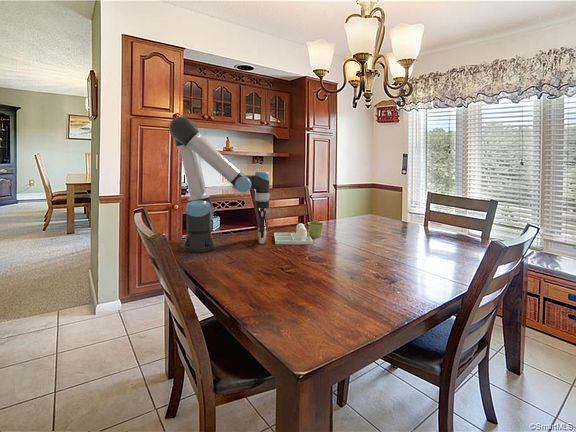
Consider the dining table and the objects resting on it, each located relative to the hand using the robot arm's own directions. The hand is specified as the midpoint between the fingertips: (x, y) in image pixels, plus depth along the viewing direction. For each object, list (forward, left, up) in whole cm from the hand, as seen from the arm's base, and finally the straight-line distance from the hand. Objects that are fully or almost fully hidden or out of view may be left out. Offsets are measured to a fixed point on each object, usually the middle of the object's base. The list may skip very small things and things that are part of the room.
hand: (262, 241), depth 189 cm
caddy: (+17, +1, 0) cm, 17 cm away
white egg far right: (+22, -4, +1) cm, 22 cm away
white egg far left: (+22, +6, +1) cm, 22 cm away
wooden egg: (0, 0, 0) cm, 0 cm away
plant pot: (+31, +9, 0) cm, 32 cm away
